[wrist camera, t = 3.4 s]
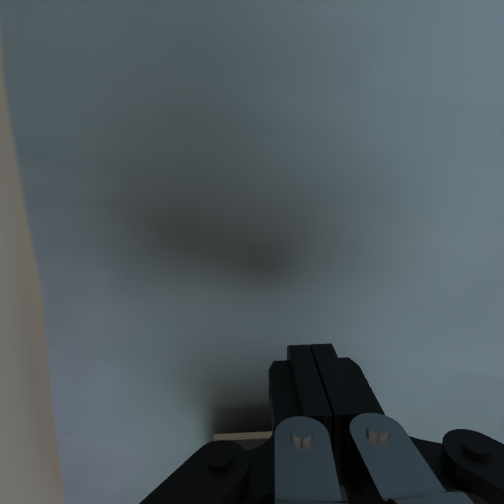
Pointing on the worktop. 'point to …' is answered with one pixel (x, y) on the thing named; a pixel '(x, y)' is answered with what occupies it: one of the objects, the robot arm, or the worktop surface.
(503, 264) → the worktop surface
